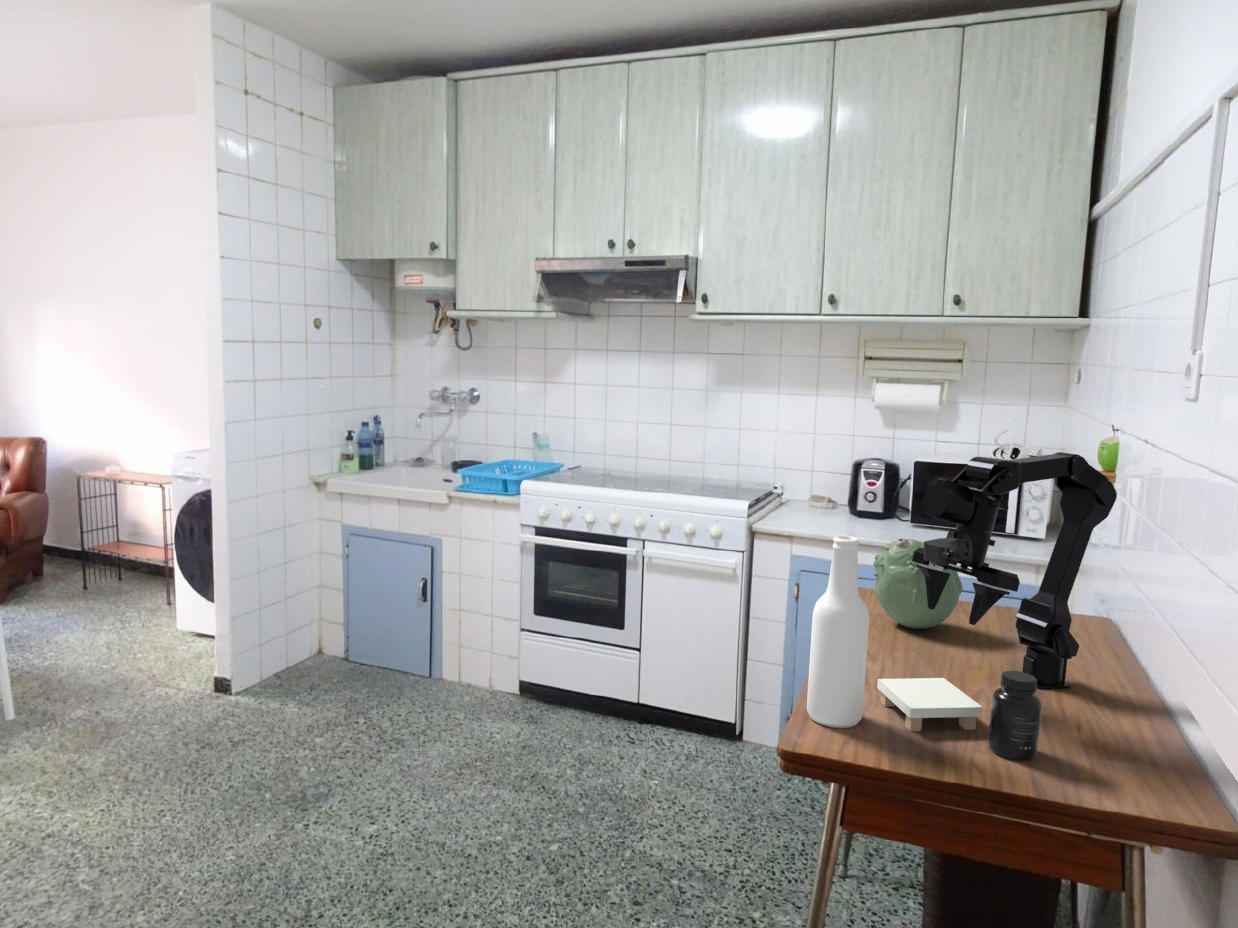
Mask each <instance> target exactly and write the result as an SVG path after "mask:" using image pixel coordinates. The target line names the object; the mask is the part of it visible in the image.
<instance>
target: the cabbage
mask: <svg viewBox="0 0 1238 928" xmlns="http://www.w3.org/2000/svg"><path fill="white" fill-rule="evenodd" d="M924 542H925V541H920V540H917V539H912V538H911V539H910V538H895V539H893V540H892V541H890V543H886V545H885V546H884V547H883V549H884V550H882V551H881V554H876V555H875V556H874V561H873V567H874V568H875V573H874V574H873V575H872V576H873V577H874V578H875V579H874V580H875V583H874V590H875V593H876V597H877V599H878V602H879V603H880V605H881V608H883V610H884V612H885V613H886V614H887V616H889V618H890V619H891V620H893V621H894V622H896V623H898V624H900V625H902V626H904V627H906V628H909V629H912V630H913V629H914V630H915V629H917V630H918V629H919V630H925V629H929V628H933V627H936V626H939V625H940V624H941V623H943V622H944V621H946V620H947V619H948V618H949V617H950V616H951V615H952V614H953V612H954V611H955V609H956V607H957V606H958V602H959V599H960V596H961V594H962V592H963V588H964V587H963V582H962V581H961V578H960V575H959V572H957V571H954V570H951V569H948V570H945V569H943V571H944V572H947V573H950V576H949V579H948V581H947V583H946V585H945V587H944V590H943V592H942V594H941V597H940V599H939V601H938V603H937V605H936V607H935V608H934V610H931V609H929V608H928V602H927V591H926V582H925V577H924V575H923V573H922V572H921V570H920V569H919V568H917V567H916V565H919V564H920V563H917V562H914V561H912V558H913V555H914V551H915V550H917V549H918V548H919V547H920V548H924Z"/></svg>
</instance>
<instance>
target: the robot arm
mask: <svg viewBox="0 0 1238 928" xmlns="http://www.w3.org/2000/svg"><path fill="white" fill-rule="evenodd" d="M1053 479H1054V486H1055V487H1056V488H1057V489H1058V491H1059V492H1060V494H1061V495H1060V498H1059V499H1060V500H1059V507H1060V510H1061V513H1062V519H1063V520H1062V524H1061V526H1060V529H1059V532H1058V535H1057V538H1056V540H1055V544H1054V547H1053V549H1052V551H1051V555H1050V558H1049V561H1048V562H1047V563H1048V564H1047V567H1046V569H1045V572H1044V575H1043V578H1042V580H1041V583H1040V587H1039V589H1038V591H1037V593H1035V594H1034V595H1033V596H1032V597H1031V598H1028V597H1024V598H1022V600H1021V601H1020V606H1019V609H1018V612H1017V613H1016V615H1015V616H1014V617H1015V619H1016V621H1015V628H1016V631H1017V636H1018V641H1019V644H1020V645H1022V646H1023V645H1024V646H1026V649H1025V651H1026V652H1025V655H1023V660H1022V661H1023V662H1022V669H1021V670H1022V671H1021V672H1024V673H1027V674H1030V675H1032V676H1034V677H1035V678H1036V679H1037V686H1036V687H1037V689H1065V688H1066V689H1068V688H1070V689H1071V687H1072V686H1071V684H1070V683H1068V682H1067V681H1066V676H1067V666H1068V660H1072V658H1073V657H1076V656H1077V654H1078V651H1079V649H1080V644H1079V642H1078V641H1077V640H1076V638H1075V637H1074V636H1073V635H1072V633H1071V631H1070V629H1071V624H1072V616H1071V613H1070V608H1069V604H1068V601H1069V598H1070V596H1071V593H1072V590H1073V587H1074V584H1075V581H1076V579H1077V575H1078V573H1079V571H1080V568H1081V564H1082V561H1083V560H1084V556H1085V553H1086V552H1087V551H1086V550H1087V547H1088V544H1089V542H1090V539H1091V535H1092V533H1093V530H1094V528H1096V527H1097V526H1098V525H1099V524H1101V523H1102V522H1103V521H1105V520H1106V519H1107V518H1108V517H1109V515H1110V513H1111V511H1112V509H1113V506H1114V505H1115V502H1116V501H1117V497H1118V495H1117V493H1118V492H1117V490H1116V489H1115V486H1114V484H1113V483H1112V482H1111V481H1110V480H1109V479H1108V477H1107V476H1106V475H1105V474H1103V473H1102V472H1101V471H1099V470H1097V469H1096V468H1095V467H1093V466H1092V465H1090V464H1089V463H1088V461H1087V460H1086V459H1085V457H1084V456H1081V455H1080V454H1075V453H1070V452H1069V453H1068V452H1061V451H1059V452H1055V453H1053V454H1045V455H1038V456H1030V457H1023V458H1022V457H1021V458H1015V459H1004V458H1003V459H1002V458H995V457H986V456H974V457H972V458H971V459H969V462H968V464H967V465H966V466H965V467H963V469H962V470H961V471H960V472H959V473H958V474H957V475H955V477H954V478H953V479H952V480H950V479H946V478H940V477H939V478H937V481H936V484H934V485H932V486H931V487H930V488H928V489H927V491H926V492H925V494H923V496H922V502H921V503H922V505H921V507H922V511H923V512H924V514H925V515H926V516H928V517H929V518H932V519H936V520H940V521H943V522H947V523H950V524H955V525H956V527H955V529H951V528H950V529H949V531H948V532H947V535H946V537H944V538H942V537H941V538H935V539H930V540H926V541H923V542H924V548H920V547H919V548H918V549H917V550H915V551H914V555H913V558H912V561H914V562H917V563H920V564H919V565H916V567H917V568H919V569H920V570H921V572H922V573H923V575H924V577H925V582H926V591H927V602H928V608H929V609H931V610H934V608H935V607H936V605H937V603H938V601H939V599H940V597H941V594H942V592H943V590H944V587H945V585H946V583H947V581H948V579H949V576H950V573H947V572H944V571H943V569H945V570H948V569H951V570H954V571H957V572H958V573H961V574H964V575H966V576H970V577H974V578H976V580H977V582H978V583H976V582H972V585H973V590H974V597H973V601H972V605H971V610H970V613H969V621H968V624H969V625H971V626H975V625H977V624H978V622H979V621H980V620H981V619H982V618H983V617H984V616H985V615H986V614H987V612H988V611H989V610H991V608H992V607H993V606H994V605H995V604H996V603H998V601H999V600H1001V599H1002V598H1003V597H1004V596H1005V595H1008V596H1010V593H1011V591H1012V592H1016V593H1018V592H1019V591H1018V590H1019V587H1020V583H1021V582H1020V581H1021V580H1020V579H1019V576H1018V574H1017V573H1013V572H1011V571H1010V572H1009V571H1006V570H1002V569H999V568H995V567H990V563H988V562H985V560H986V556H987V554H988V553H987V552H988V549H989V546H991V547H994V546H995V543H996V540H993V539H992V535H993V531H994V527H995V523H996V520H997V517H998V512H999V510H1003V511H1007V510H1009V505H1008V503H1007V502H1006V501H1005V499H1004V497H1003V495H1004V494H1007V493H1009V492H1012V491H1015V490H1016V489H1018V488H1019V487H1020V486H1021V485H1023V484H1024V483H1025V484H1026V483H1031V482H1037V481H1043V480H1044V481H1045V480H1053ZM958 564H960V565H958Z"/></svg>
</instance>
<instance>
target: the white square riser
mask: <svg viewBox="0 0 1238 928" xmlns="http://www.w3.org/2000/svg"><path fill="white" fill-rule="evenodd" d="M876 685H877V686H876V688H877V689H878V690H879V691H880V702H879V703H880V704H881V705H882V706H883V707H884V708H885V707H888V708H891V707H897V708H898V709H899V710H900V711H902V712H903V713H904V714H905V724H904V726H905V727H906V728H907V729H908V731H910V732H921V731H922V725H923V724H922V723H923V719H924V718H925V719H929V718H930V719H934V718H935V719H937V718H941V719H942V718H959V719H958V725H959V726H960V727H961V728H962V729H963V730H965V731H967V730H968V731H971V730H972V731H973V730H976V726H977V717H981V718H982V713H983V706H982V705H980V704H979V703H978V702H976V701H975V700H973V699H972V698H971V697H970V696H968V695H967V694H966V693H964V692H963V691H962V690H960V689H959V688H958V687H956V686H955V685H954V684H952V683H951V682H950V681H949V680H947V678H944V677H921V678H920V677H918V678H915V677H914V678H912V677H911V678H878V679H877V684H876Z"/></svg>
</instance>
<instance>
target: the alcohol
mask: <svg viewBox="0 0 1238 928" xmlns="http://www.w3.org/2000/svg"><path fill="white" fill-rule="evenodd" d="M832 540H833V544H832V549H833V550H832V556H831V557H832V558H831V562H830V568H829V569H830V570H829V576H828V577H829V578H828V584H827V588H826V591H825V592H824V593H823V595H822V596H821V597H819V598H818V600H817V601H816V603H815V605H814V608H813V611H812V618H811V619H812V621H811V636H810V637H811V638H810V653H809V668H808V681H807V697H806V699H807V700H806V712H807V713H808V715H809V718H811V720H812V721H814V722H815V723H818V724H819V725H822V726H825V727H827V728H828V727H829V728H832V729H833V728H834V729H846V728H847V729H848V728H853V727H855V726H857V724H859V722H860V721H861V720H862V718H863V709H864V697H865V696H864V693H865V684H866V681H865V680H866V671H867V670H866V665H867V654H868V641H869V629H870V628H869V627H870V614H869V609H868V606H867V605H866V603H865V602H864V601H863V599H862V598H861V597H860V592H859V578H858V577H859V572H858V571H859V569H858V567H859V565H858V559H859V557H858V554H859V553H858V551H859V549H860V548H859V544H860V540H859V539H858V538H857V537H855V536H850V535H837V536H835V537H833V539H832Z"/></svg>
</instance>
